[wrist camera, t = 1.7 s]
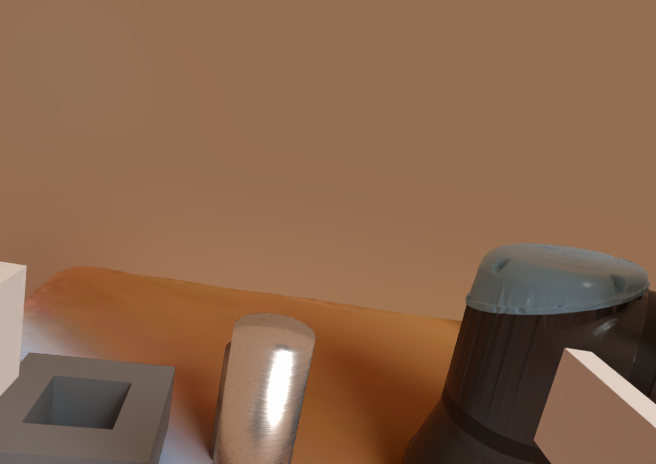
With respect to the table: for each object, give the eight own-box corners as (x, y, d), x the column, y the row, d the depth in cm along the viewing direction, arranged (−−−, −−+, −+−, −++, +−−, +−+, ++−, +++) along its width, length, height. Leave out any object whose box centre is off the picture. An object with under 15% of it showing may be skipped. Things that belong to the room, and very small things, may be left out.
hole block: (168, 425, 48) (175, 366, 46) (139, 534, 36) (148, 462, 35) (26, 413, 46) (29, 352, 44) (-52, 526, 34) (-52, 449, 33)
